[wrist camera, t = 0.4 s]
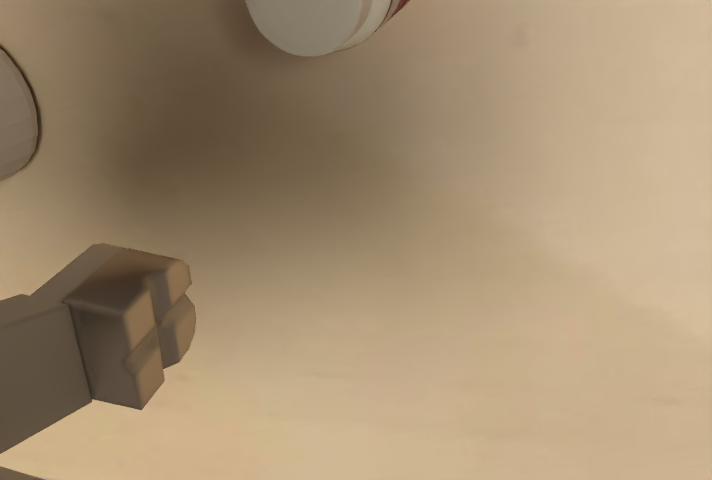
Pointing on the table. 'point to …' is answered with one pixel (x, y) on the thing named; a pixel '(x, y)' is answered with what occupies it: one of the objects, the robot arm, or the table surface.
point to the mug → (15, 119)
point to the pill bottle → (320, 23)
